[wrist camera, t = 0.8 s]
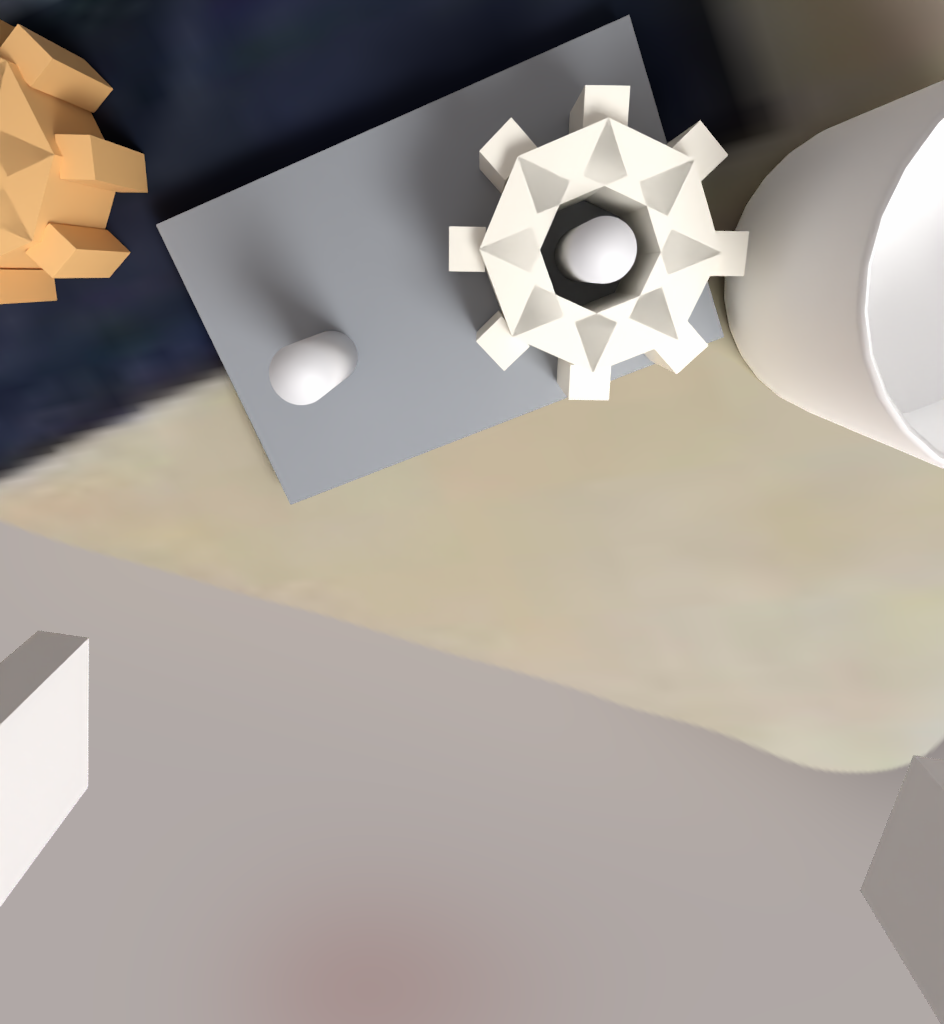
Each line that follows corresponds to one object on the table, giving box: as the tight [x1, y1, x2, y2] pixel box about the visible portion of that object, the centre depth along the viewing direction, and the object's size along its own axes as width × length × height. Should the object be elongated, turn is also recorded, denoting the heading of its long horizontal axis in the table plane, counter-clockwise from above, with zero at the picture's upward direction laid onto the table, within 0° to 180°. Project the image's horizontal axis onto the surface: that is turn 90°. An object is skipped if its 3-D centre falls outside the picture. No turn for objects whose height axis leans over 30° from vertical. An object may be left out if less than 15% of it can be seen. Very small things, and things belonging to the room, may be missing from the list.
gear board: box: [156, 15, 724, 504], centre depth 28 cm, size 12×19×8 cm, turn 112°
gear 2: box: [449, 85, 749, 400], centre depth 27 cm, size 10×10×5 cm
